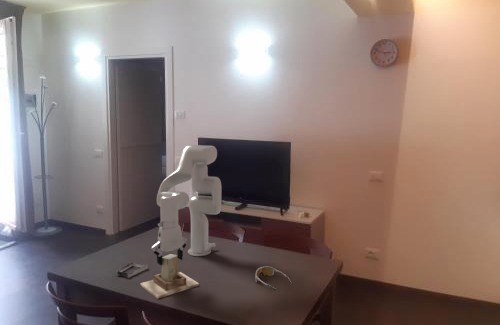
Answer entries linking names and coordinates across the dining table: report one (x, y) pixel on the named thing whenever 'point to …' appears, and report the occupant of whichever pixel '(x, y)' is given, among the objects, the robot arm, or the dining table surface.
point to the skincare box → (169, 267)
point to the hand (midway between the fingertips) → (170, 261)
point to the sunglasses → (266, 273)
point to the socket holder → (168, 285)
